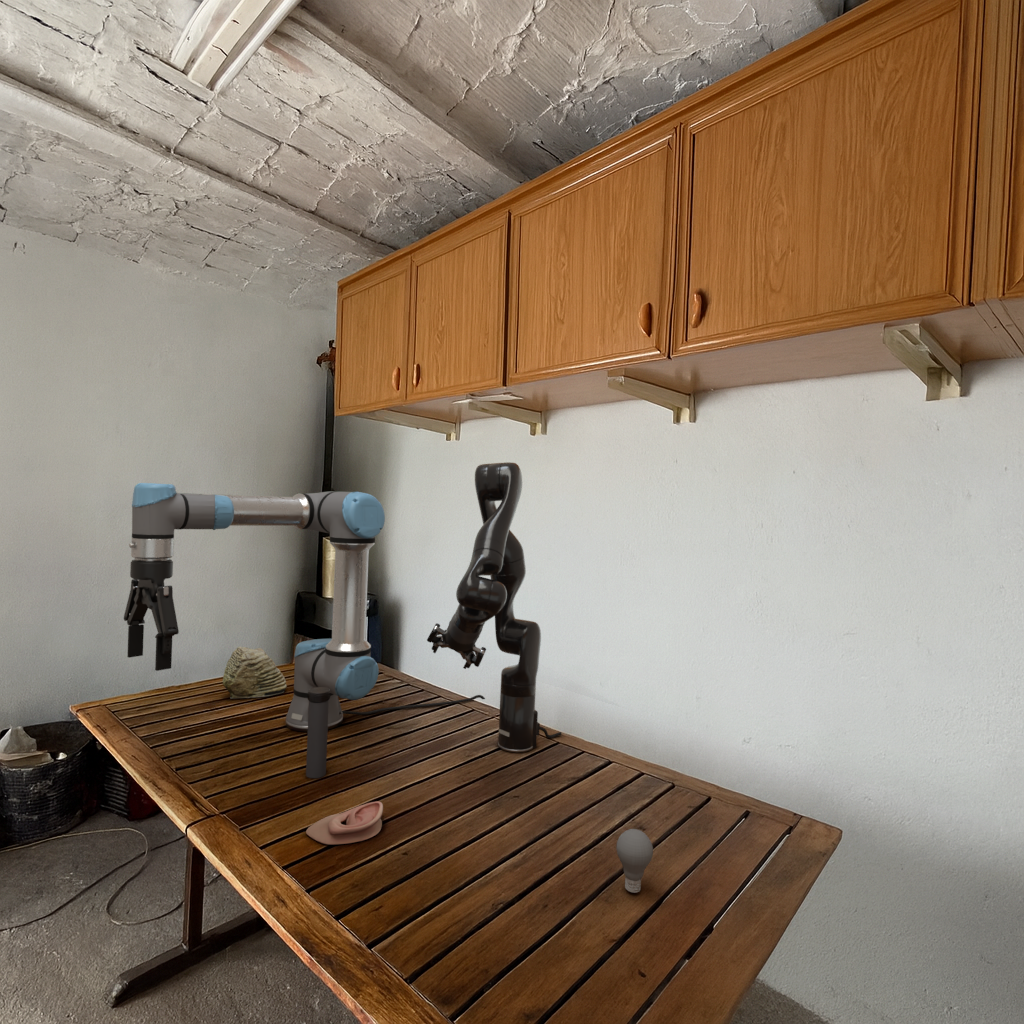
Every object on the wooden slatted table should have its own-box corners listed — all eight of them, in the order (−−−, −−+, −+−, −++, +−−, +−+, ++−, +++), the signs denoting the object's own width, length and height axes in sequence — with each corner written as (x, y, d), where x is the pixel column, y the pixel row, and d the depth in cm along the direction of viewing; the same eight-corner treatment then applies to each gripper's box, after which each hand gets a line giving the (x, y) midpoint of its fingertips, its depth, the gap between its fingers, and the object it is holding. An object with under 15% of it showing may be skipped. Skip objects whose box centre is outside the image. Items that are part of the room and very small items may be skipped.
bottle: (324, 778, 143) (327, 695, 142) (304, 778, 142) (307, 695, 142) (327, 769, 147) (330, 689, 147) (307, 770, 146) (310, 689, 146)
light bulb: (610, 879, 108) (613, 822, 108) (644, 879, 109) (647, 822, 109) (619, 902, 102) (622, 840, 102) (655, 901, 103) (658, 840, 103)
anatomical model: (298, 818, 116) (328, 791, 128) (297, 839, 116) (327, 810, 128) (365, 829, 114) (390, 800, 125) (364, 851, 114) (389, 820, 125)
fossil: (218, 695, 195) (220, 647, 195) (278, 685, 208) (279, 640, 207) (228, 703, 189) (230, 653, 188) (289, 692, 201) (290, 645, 201)
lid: (328, 702, 142) (329, 693, 142) (305, 702, 141) (306, 693, 141) (331, 695, 147) (331, 686, 147) (309, 695, 146) (309, 686, 146)
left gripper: (108, 554, 134) (104, 654, 134) (159, 565, 118) (155, 678, 119) (146, 552, 140) (143, 648, 140) (199, 563, 124) (195, 671, 124)
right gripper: (498, 630, 149) (481, 658, 162) (444, 602, 150) (432, 632, 162) (485, 656, 144) (469, 683, 157) (430, 627, 145) (418, 656, 157)
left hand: (148, 662), depth 129 cm, fingers open, 13 cm apart
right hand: (450, 657), depth 159 cm, fingers open, 8 cm apart
